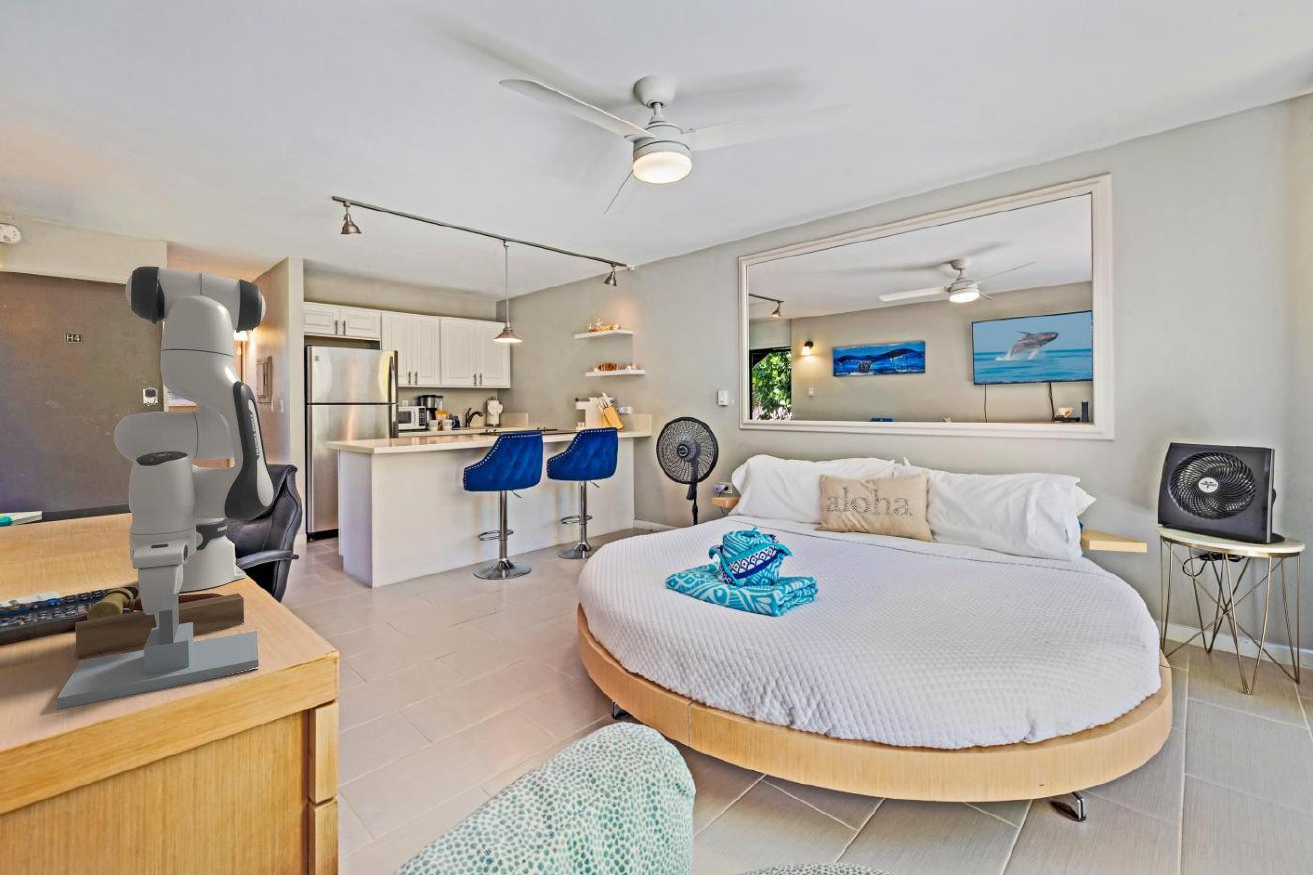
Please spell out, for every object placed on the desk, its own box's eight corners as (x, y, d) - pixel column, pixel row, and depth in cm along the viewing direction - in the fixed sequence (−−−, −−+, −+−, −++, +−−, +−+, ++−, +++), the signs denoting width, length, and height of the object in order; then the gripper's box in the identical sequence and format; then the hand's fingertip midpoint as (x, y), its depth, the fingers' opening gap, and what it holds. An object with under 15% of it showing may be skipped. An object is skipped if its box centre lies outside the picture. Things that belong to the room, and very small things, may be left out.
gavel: (234, 580, 125) (230, 593, 117) (233, 602, 126) (228, 616, 117) (103, 588, 115) (87, 603, 106) (101, 611, 115) (85, 628, 106)
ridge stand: (81, 670, 89) (79, 601, 88) (257, 639, 101) (256, 579, 101) (57, 709, 77) (54, 631, 77) (258, 669, 90) (257, 601, 89)
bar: (76, 652, 95) (75, 622, 95) (238, 619, 111) (238, 593, 111) (77, 660, 93) (76, 628, 92) (244, 624, 109) (243, 598, 108)
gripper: (148, 537, 108) (149, 611, 109) (130, 561, 91) (132, 648, 92) (191, 533, 112) (193, 605, 112) (182, 555, 95) (184, 639, 95)
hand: (165, 624), depth 102 cm, fingers closed on bar, 4 cm apart
